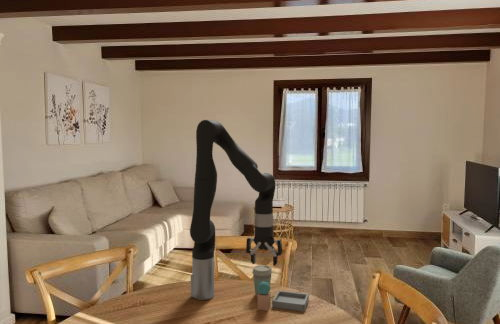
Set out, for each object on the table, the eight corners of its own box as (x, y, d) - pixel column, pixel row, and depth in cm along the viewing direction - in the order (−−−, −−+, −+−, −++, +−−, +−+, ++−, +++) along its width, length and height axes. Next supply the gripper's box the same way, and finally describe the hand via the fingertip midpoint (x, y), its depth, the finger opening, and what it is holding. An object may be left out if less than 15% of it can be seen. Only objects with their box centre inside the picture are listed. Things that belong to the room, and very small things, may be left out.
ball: (256, 295, 160) (256, 283, 159) (259, 291, 164) (259, 279, 164) (268, 297, 158) (268, 284, 158) (271, 292, 163) (271, 280, 162)
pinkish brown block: (257, 309, 160) (257, 294, 160) (260, 305, 164) (260, 290, 164) (267, 310, 159) (267, 296, 159) (270, 306, 163) (270, 292, 163)
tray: (272, 307, 162) (272, 300, 162) (278, 296, 173) (278, 290, 172) (304, 311, 158) (304, 304, 158) (308, 300, 169) (308, 294, 169)
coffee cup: (270, 300, 169) (270, 272, 168) (250, 298, 171) (250, 270, 170) (273, 292, 178) (273, 265, 177) (254, 290, 179) (254, 264, 178)
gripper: (243, 225, 158) (244, 265, 159) (279, 227, 153) (279, 269, 155) (249, 221, 165) (249, 259, 166) (283, 223, 161) (283, 262, 162)
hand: (264, 264), depth 160 cm, fingers open, 8 cm apart
